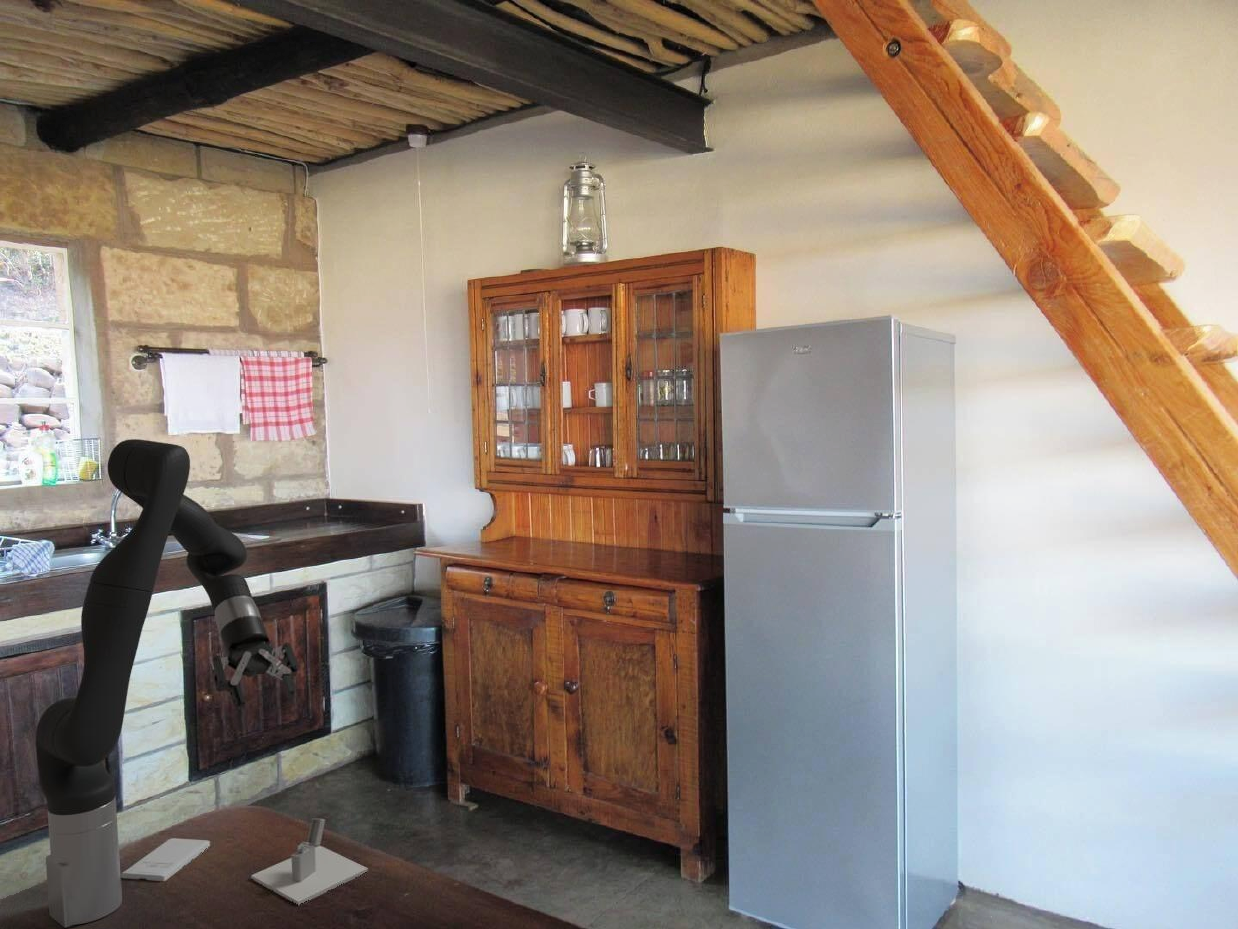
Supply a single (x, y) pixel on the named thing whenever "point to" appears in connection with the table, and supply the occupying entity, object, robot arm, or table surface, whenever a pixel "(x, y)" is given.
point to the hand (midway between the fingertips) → (267, 701)
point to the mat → (326, 876)
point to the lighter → (307, 852)
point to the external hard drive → (166, 859)
